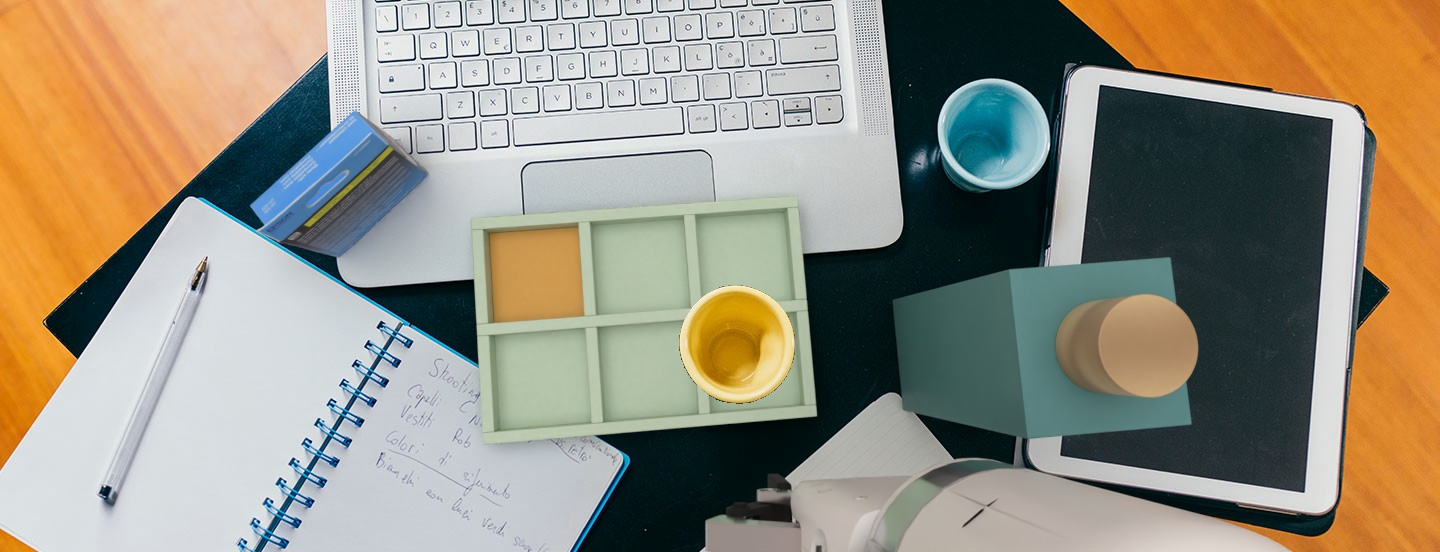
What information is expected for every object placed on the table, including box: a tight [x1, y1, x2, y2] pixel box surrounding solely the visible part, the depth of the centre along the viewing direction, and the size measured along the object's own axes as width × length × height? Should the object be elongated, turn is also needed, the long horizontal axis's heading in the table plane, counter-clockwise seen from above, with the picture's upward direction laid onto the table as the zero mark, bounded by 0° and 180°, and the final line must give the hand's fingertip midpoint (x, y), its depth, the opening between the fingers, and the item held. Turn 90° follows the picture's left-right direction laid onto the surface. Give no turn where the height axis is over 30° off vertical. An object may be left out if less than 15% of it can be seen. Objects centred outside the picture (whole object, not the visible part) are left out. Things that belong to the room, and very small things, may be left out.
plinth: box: [892, 256, 1193, 440], centre depth 52 cm, size 8×8×22 cm
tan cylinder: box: [1056, 294, 1199, 398], centre depth 39 cm, size 4×4×4 cm
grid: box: [470, 195, 818, 445], centre depth 60 cm, size 15×23×3 cm
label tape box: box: [249, 110, 429, 258], centre depth 55 cm, size 9×4×12 cm, turn 135°
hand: (868, 503), depth 44 cm, fingers open, 9 cm apart
